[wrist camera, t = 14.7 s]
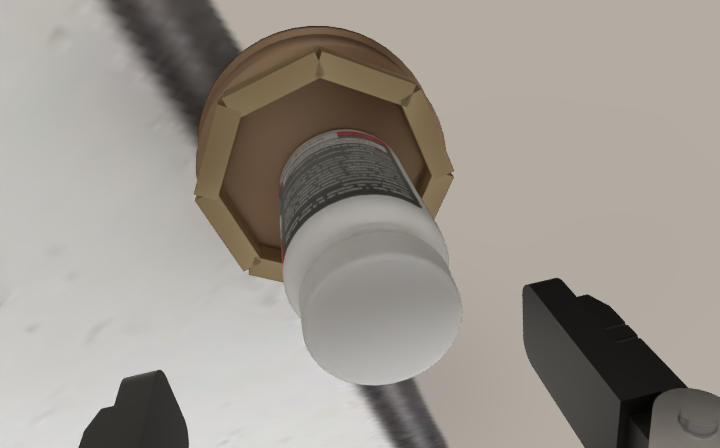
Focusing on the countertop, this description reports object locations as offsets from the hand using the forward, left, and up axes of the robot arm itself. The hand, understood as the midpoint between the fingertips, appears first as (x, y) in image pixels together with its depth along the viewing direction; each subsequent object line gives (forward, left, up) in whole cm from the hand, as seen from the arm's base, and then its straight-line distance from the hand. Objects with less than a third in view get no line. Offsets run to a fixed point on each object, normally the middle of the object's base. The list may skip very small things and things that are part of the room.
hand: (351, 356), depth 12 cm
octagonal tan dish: (0, 0, -13) cm, 13 cm away
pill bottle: (+1, 0, -10) cm, 10 cm away
